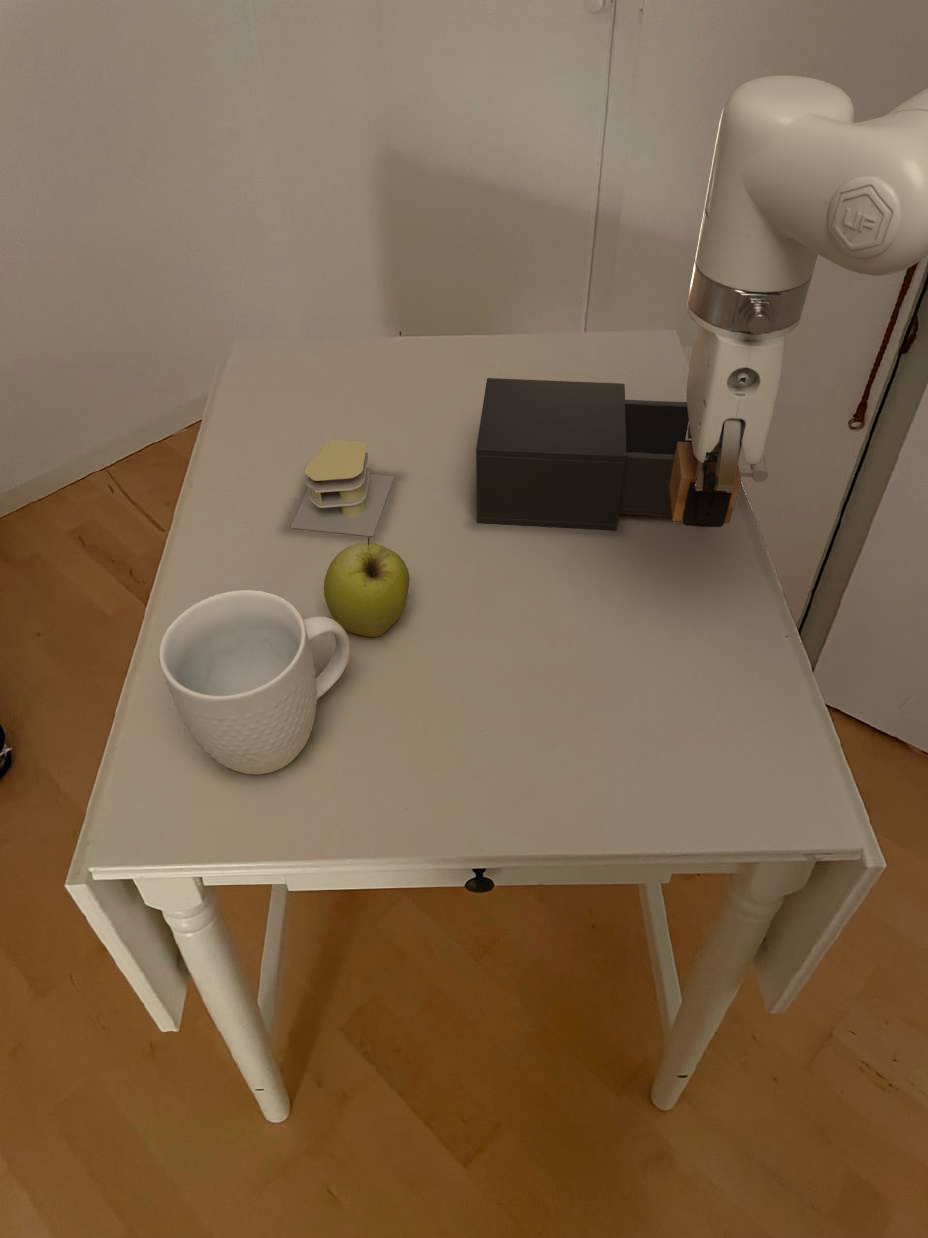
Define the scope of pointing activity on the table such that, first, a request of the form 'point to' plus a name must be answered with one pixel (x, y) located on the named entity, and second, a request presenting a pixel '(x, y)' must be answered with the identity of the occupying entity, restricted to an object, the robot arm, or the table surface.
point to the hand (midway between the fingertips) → (700, 500)
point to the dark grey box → (551, 453)
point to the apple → (366, 588)
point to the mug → (248, 676)
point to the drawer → (657, 455)
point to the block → (691, 480)
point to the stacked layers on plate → (342, 491)
